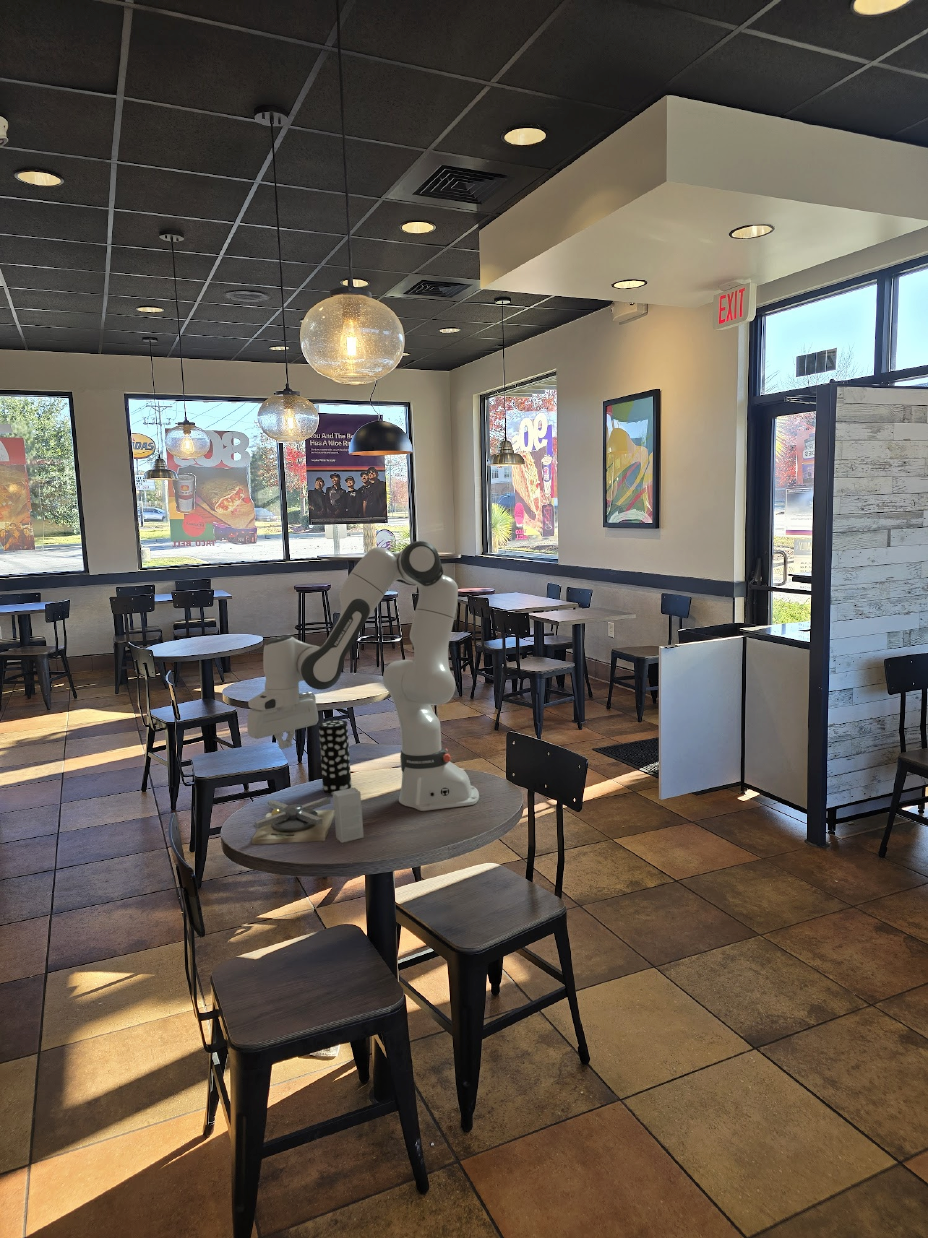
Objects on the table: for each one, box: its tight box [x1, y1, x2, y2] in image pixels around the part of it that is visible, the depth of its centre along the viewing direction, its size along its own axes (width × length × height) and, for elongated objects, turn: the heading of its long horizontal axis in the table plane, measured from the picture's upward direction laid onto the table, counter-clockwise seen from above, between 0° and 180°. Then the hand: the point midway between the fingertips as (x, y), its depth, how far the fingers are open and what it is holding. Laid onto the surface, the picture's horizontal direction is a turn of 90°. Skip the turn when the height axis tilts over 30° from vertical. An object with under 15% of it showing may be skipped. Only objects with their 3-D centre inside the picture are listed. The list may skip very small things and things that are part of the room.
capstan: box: [254, 796, 331, 832], centre depth 206 cm, size 17×17×4 cm
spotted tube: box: [318, 719, 352, 795], centre depth 234 cm, size 8×8×20 cm
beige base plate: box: [251, 809, 335, 845], centre depth 206 cm, size 18×18×1 cm
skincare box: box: [332, 786, 365, 843], centre depth 198 cm, size 6×4×12 cm
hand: (285, 747), depth 214 cm, fingers closed
